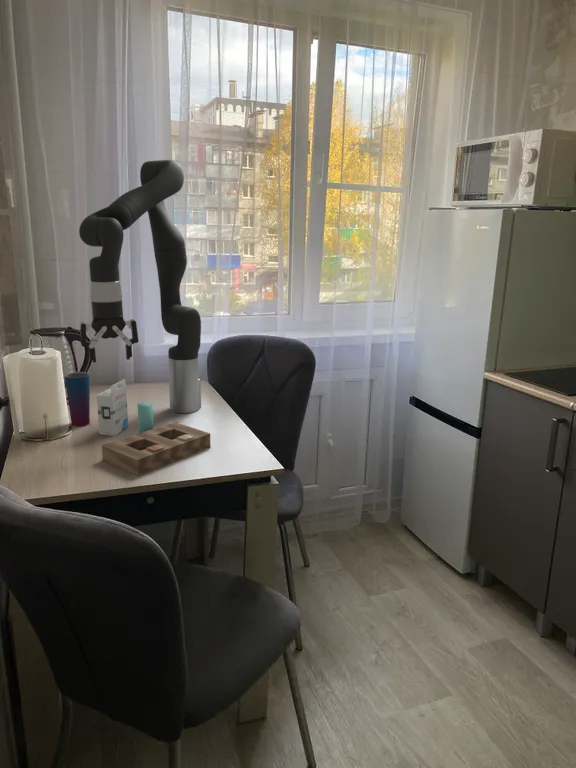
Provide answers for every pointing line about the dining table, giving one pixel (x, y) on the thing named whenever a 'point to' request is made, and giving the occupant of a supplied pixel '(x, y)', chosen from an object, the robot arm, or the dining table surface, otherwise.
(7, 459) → the dining table surface
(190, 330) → the robot arm
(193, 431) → the board
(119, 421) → the ink box
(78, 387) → the cup
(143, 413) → the plug
